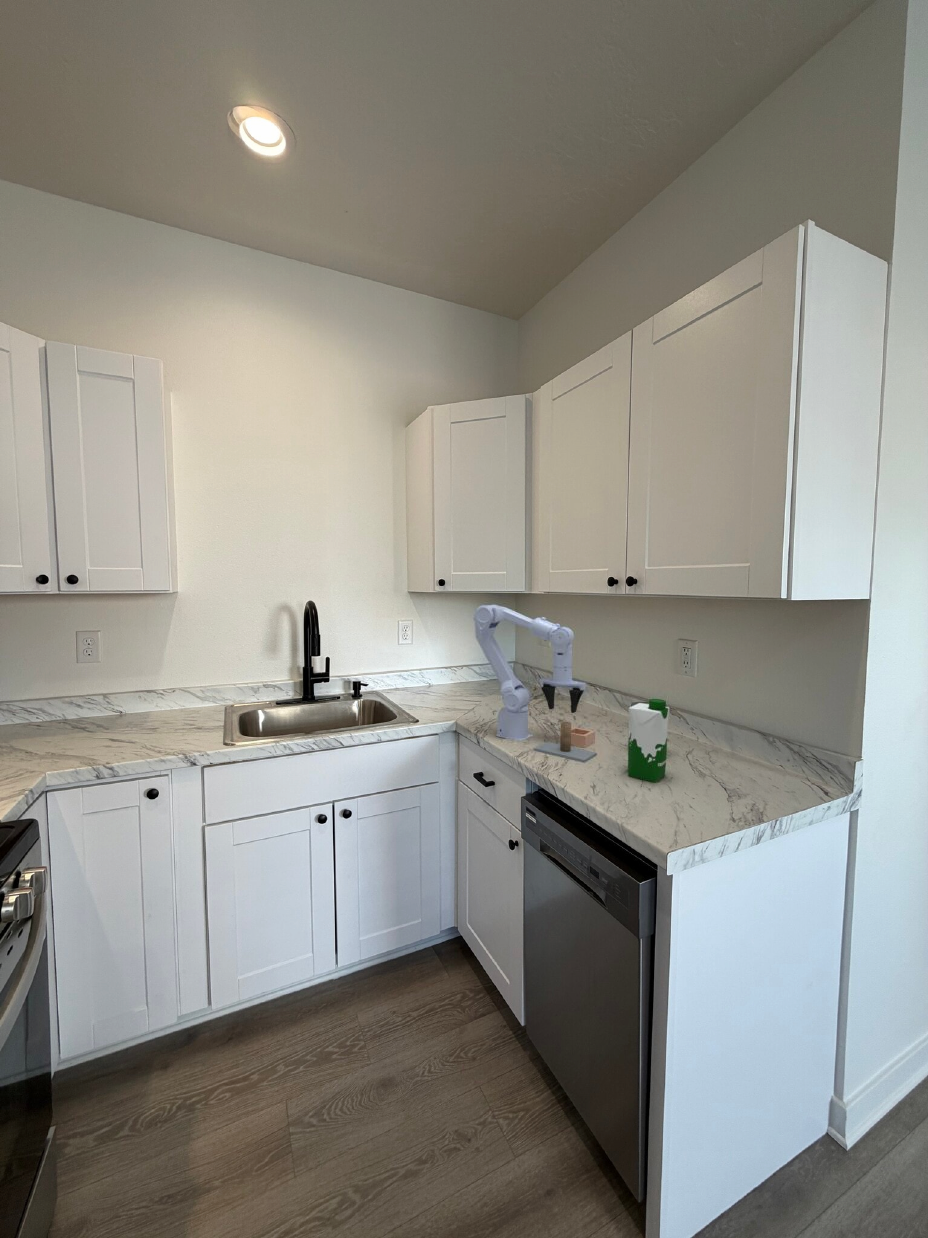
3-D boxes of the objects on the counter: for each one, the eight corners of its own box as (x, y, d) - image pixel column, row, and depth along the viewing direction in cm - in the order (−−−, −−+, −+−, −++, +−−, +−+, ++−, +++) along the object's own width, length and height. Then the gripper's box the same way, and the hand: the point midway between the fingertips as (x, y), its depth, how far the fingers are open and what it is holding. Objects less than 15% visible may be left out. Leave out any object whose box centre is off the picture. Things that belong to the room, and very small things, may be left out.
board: (533, 752, 151) (533, 748, 151) (547, 745, 157) (547, 741, 157) (584, 764, 141) (584, 760, 141) (596, 757, 147) (596, 752, 147)
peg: (558, 750, 149) (558, 723, 148) (562, 748, 151) (563, 721, 151) (567, 752, 147) (568, 725, 146) (572, 750, 149) (573, 723, 149)
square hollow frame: (563, 744, 158) (564, 732, 158) (573, 739, 164) (574, 727, 163) (584, 749, 154) (585, 736, 154) (594, 744, 159) (595, 731, 159)
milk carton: (658, 785, 127) (661, 705, 126) (622, 776, 133) (625, 699, 131) (669, 775, 134) (672, 699, 132) (635, 767, 139) (637, 694, 138)
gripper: (590, 667, 156) (589, 711, 157) (547, 663, 165) (547, 705, 166) (580, 670, 151) (579, 715, 152) (536, 665, 160) (536, 709, 161)
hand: (562, 710), depth 159 cm, fingers open, 7 cm apart
